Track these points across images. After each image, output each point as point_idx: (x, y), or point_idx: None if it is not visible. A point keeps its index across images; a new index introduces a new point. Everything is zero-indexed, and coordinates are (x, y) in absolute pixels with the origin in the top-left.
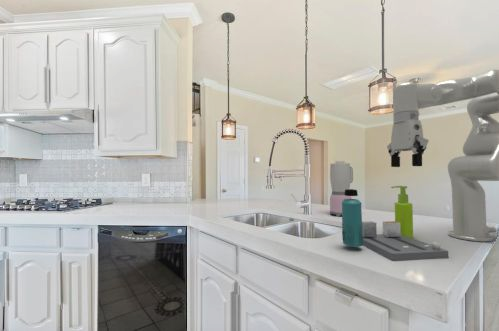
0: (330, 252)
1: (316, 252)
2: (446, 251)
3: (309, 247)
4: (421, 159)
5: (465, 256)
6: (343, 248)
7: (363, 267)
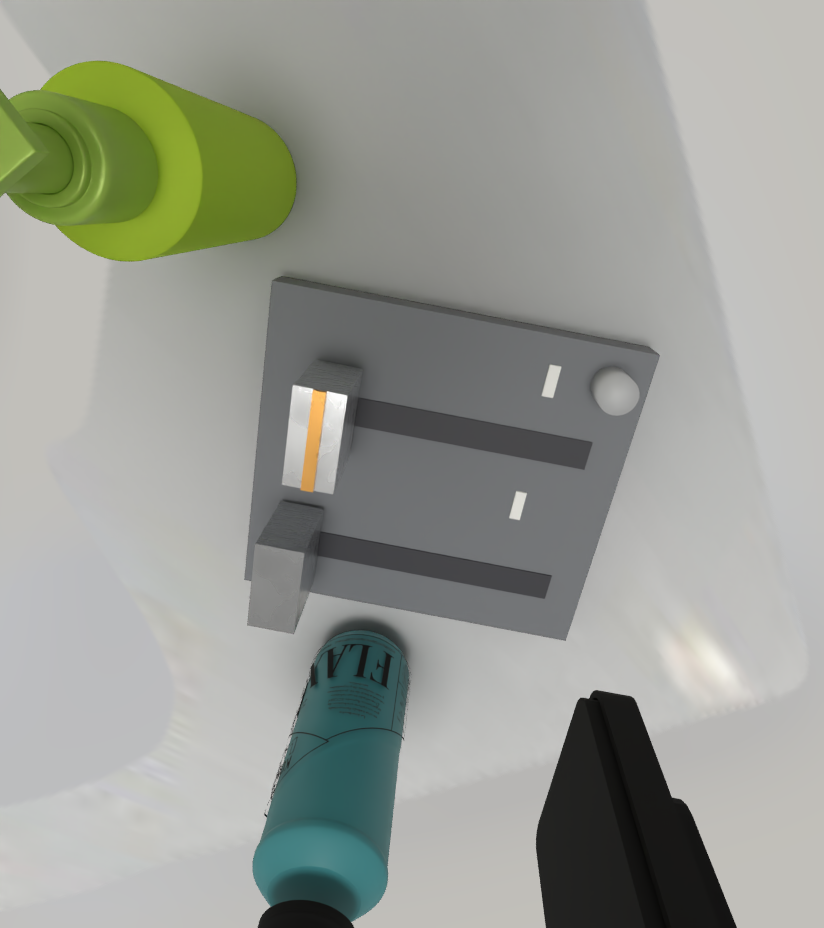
0: None
1: None
2: (654, 365)
3: None
4: (713, 880)
5: (679, 226)
6: None
7: None
